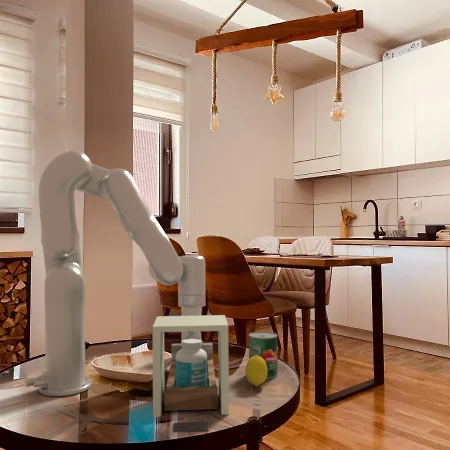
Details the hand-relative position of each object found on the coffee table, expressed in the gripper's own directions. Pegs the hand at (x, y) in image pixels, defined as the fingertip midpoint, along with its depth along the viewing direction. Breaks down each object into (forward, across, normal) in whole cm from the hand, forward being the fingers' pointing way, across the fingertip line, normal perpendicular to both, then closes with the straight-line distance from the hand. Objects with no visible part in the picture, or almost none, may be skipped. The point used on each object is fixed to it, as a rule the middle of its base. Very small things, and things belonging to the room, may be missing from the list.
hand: (192, 366), depth 129 cm
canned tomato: (+2, +2, +20) cm, 20 cm away
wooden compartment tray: (+2, +11, 0) cm, 11 cm away
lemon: (+2, +11, +16) cm, 20 cm away
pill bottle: (+2, +18, 0) cm, 19 cm away
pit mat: (+2, +35, 0) cm, 35 cm away
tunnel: (+2, +23, 0) cm, 23 cm away
